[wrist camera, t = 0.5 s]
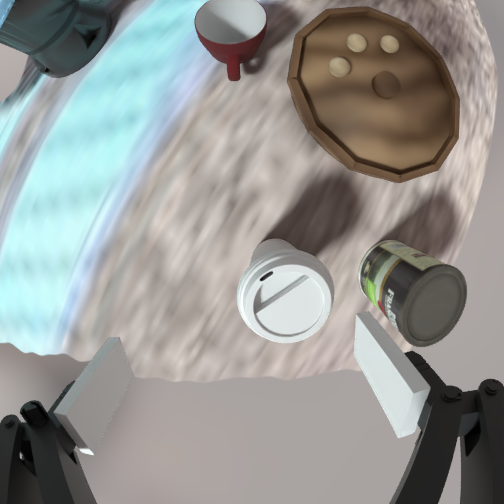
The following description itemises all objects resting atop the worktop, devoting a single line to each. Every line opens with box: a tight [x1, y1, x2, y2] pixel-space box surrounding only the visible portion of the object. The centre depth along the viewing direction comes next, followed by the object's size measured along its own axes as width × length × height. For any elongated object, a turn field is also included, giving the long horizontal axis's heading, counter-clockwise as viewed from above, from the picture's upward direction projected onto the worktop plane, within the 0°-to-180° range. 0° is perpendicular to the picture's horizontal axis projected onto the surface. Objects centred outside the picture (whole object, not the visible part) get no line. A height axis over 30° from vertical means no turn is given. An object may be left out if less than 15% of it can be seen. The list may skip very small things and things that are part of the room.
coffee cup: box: [237, 238, 334, 343], centre depth 32 cm, size 10×10×15 cm
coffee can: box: [358, 240, 467, 347], centre depth 34 cm, size 10×10×14 cm
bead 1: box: [328, 57, 350, 77], centre depth 31 cm, size 3×3×3 cm
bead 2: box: [346, 34, 367, 52], centre depth 30 cm, size 3×3×3 cm
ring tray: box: [287, 7, 460, 183], centre depth 32 cm, size 28×28×3 cm
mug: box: [195, 0, 267, 81], centre depth 28 cm, size 11×8×10 cm
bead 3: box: [380, 35, 399, 53], centre depth 29 cm, size 3×3×3 cm
